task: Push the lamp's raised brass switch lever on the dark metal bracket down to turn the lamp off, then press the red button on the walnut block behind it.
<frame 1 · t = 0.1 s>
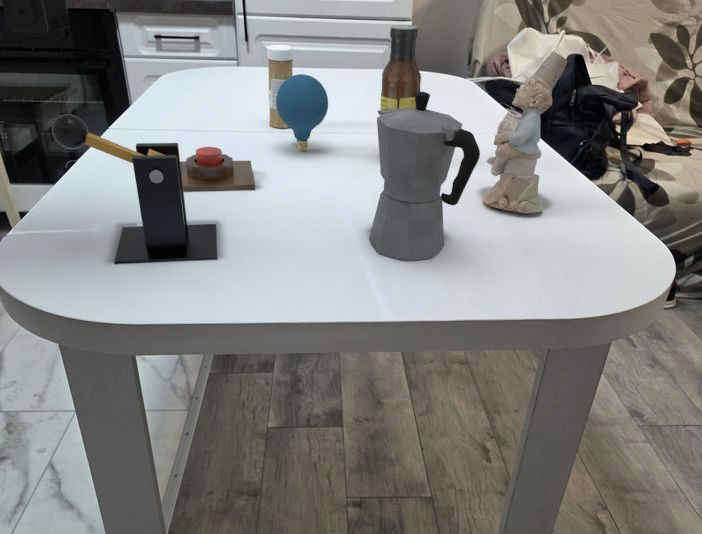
hand: (41, 23, 59), 23 cm above the table, tool pointing down, fingers open, 9 cm apart
lamp switch: (169, 250, 73), on the table
lamp button: (209, 156, 88), point 4 cm above the table, slide at 0.1 cm
button block: (211, 184, 90), on the table
sprinkles bottle: (281, 126, 116), on the table
figurine: (510, 206, 89), on the table
light bulb: (302, 152, 104), on the table
sauce bottle: (395, 161, 103), on the table
switch lever: (113, 149, 65), point 12 cm above the table, hinge at 25.0°
coffeepot: (411, 249, 77), on the table
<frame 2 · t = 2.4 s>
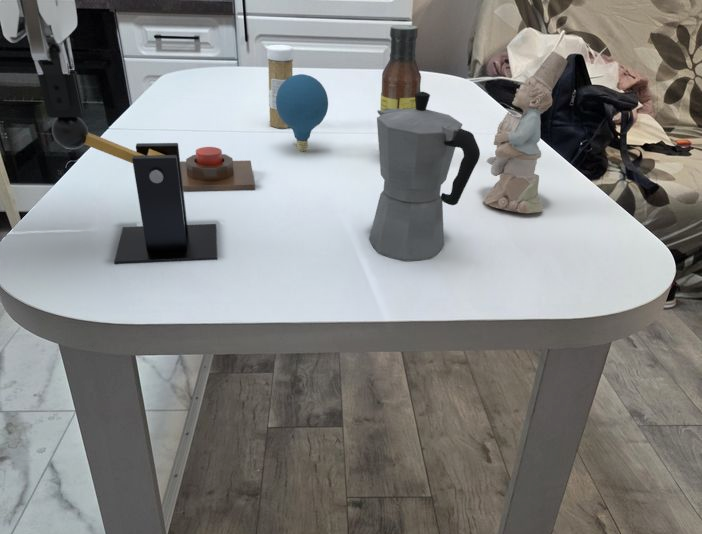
hand: (66, 114, 62), 16 cm above the table, tool pointing down, fingers closed
switch lever: (113, 149, 65), point 12 cm above the table, hinge at 24.9°, touching gripper
everything else where it was.
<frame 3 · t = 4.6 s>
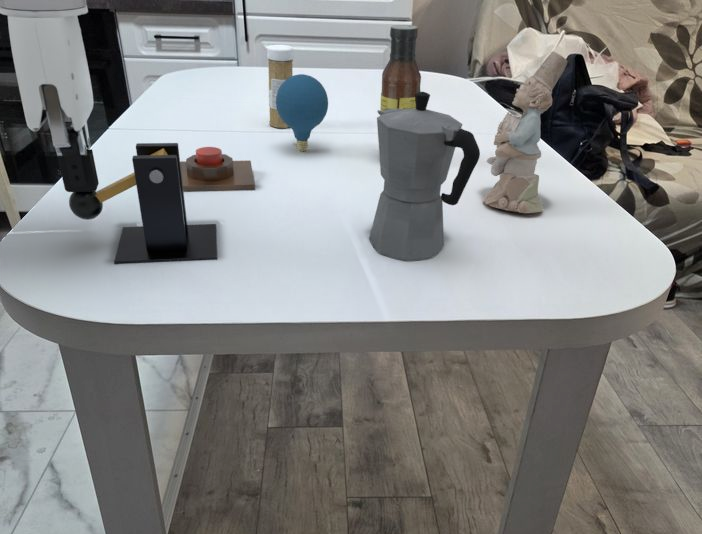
hand: (82, 188, 67), 8 cm above the table, tool pointing down, fingers closed
switch lever: (120, 186, 67), point 8 cm above the table, hinge at -25.9°, touching gripper
everything else where it was.
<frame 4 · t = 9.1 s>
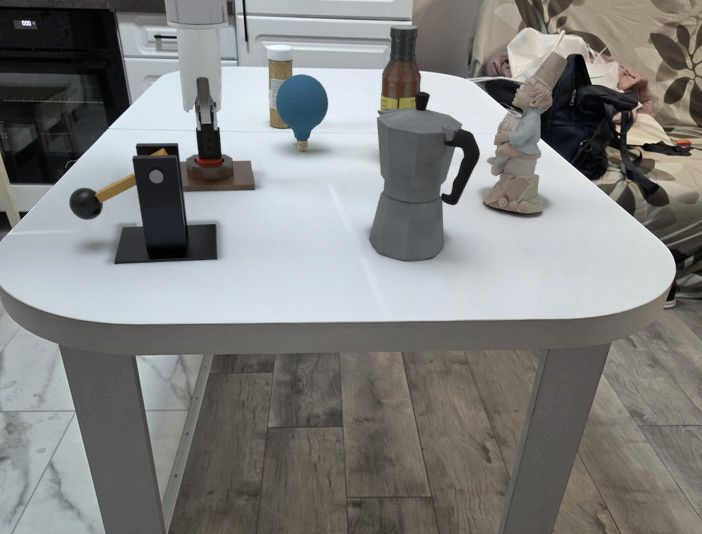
hand: (210, 157, 88), 4 cm above the table, tool pointing down, fingers closed
lamp button: (209, 163, 89), point 3 cm above the table, slide at -0.9 cm, touching gripper
switch lever: (120, 186, 67), point 8 cm above the table, hinge at -26.0°
everything else where it was.
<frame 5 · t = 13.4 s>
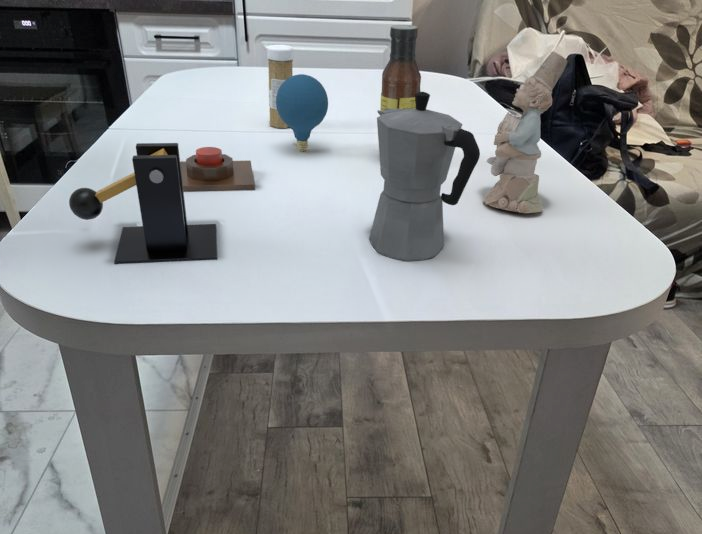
lamp button: (209, 157, 88), point 4 cm above the table, slide at 0.1 cm
everything else where it was.
at the end: switch lever at -26° (first picture: +25°); lamp button pushed in 1.1 cm at the most during the clip, back to where it started at the end; lamp button slide at 0.1 cm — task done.
